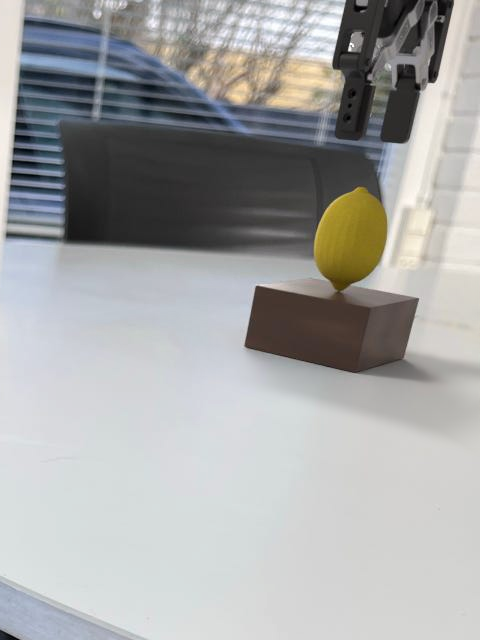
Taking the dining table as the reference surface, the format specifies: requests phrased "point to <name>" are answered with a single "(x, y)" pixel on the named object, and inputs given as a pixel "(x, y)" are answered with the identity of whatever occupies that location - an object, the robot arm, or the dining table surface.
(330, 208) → the lemon
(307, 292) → the block
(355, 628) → the dining table surface
